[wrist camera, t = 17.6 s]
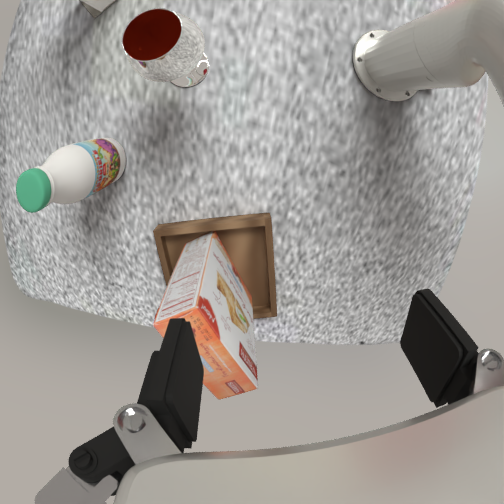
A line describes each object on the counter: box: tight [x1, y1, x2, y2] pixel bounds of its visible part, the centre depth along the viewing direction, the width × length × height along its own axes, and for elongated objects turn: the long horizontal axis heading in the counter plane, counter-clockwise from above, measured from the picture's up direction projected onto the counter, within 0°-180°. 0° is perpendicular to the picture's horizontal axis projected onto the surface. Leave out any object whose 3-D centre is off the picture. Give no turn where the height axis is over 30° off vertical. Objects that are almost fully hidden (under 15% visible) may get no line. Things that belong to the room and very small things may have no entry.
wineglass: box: [122, 8, 209, 87], centre depth 26 cm, size 8×8×18 cm
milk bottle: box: [16, 138, 126, 213], centre depth 31 cm, size 8×8×20 cm
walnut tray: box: [153, 213, 277, 319], centre depth 47 cm, size 18×18×3 cm
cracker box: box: [152, 231, 258, 399], centre depth 38 cm, size 14×6×21 cm, turn 25°
